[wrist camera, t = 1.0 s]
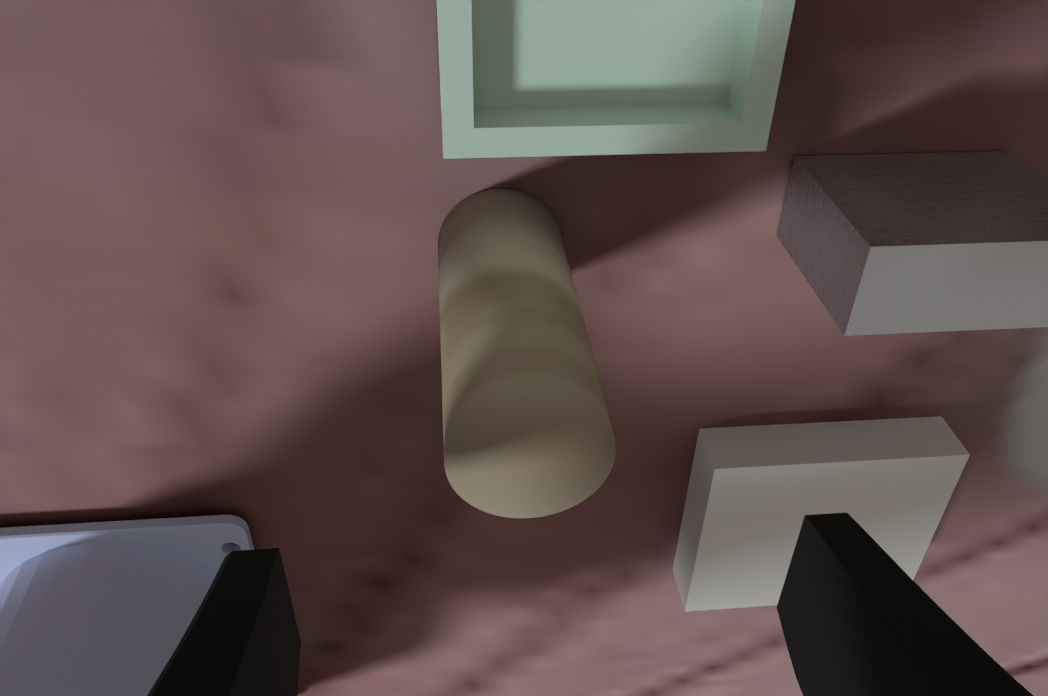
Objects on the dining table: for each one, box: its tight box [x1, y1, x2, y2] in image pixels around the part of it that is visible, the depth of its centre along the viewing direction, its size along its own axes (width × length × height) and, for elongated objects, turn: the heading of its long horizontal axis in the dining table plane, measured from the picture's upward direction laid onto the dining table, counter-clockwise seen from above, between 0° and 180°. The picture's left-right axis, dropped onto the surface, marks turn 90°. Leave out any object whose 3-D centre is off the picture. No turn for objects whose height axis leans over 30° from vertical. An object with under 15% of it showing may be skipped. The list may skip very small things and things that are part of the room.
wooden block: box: [777, 151, 1048, 336], centre depth 18 cm, size 2×5×4 cm, turn 89°
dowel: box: [438, 188, 616, 518], centre depth 17 cm, size 3×3×7 cm
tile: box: [673, 416, 970, 612], centre depth 25 cm, size 6×7×2 cm
